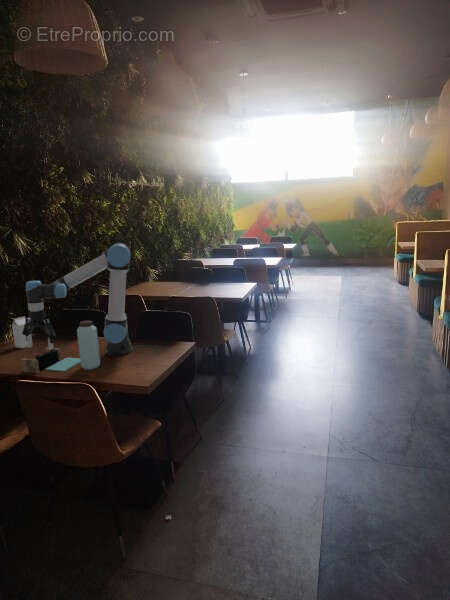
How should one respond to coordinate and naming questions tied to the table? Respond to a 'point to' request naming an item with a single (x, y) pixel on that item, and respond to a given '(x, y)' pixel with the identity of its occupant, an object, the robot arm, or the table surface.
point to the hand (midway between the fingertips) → (40, 348)
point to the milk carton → (19, 332)
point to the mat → (64, 364)
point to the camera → (47, 359)
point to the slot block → (36, 362)
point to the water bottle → (88, 345)
